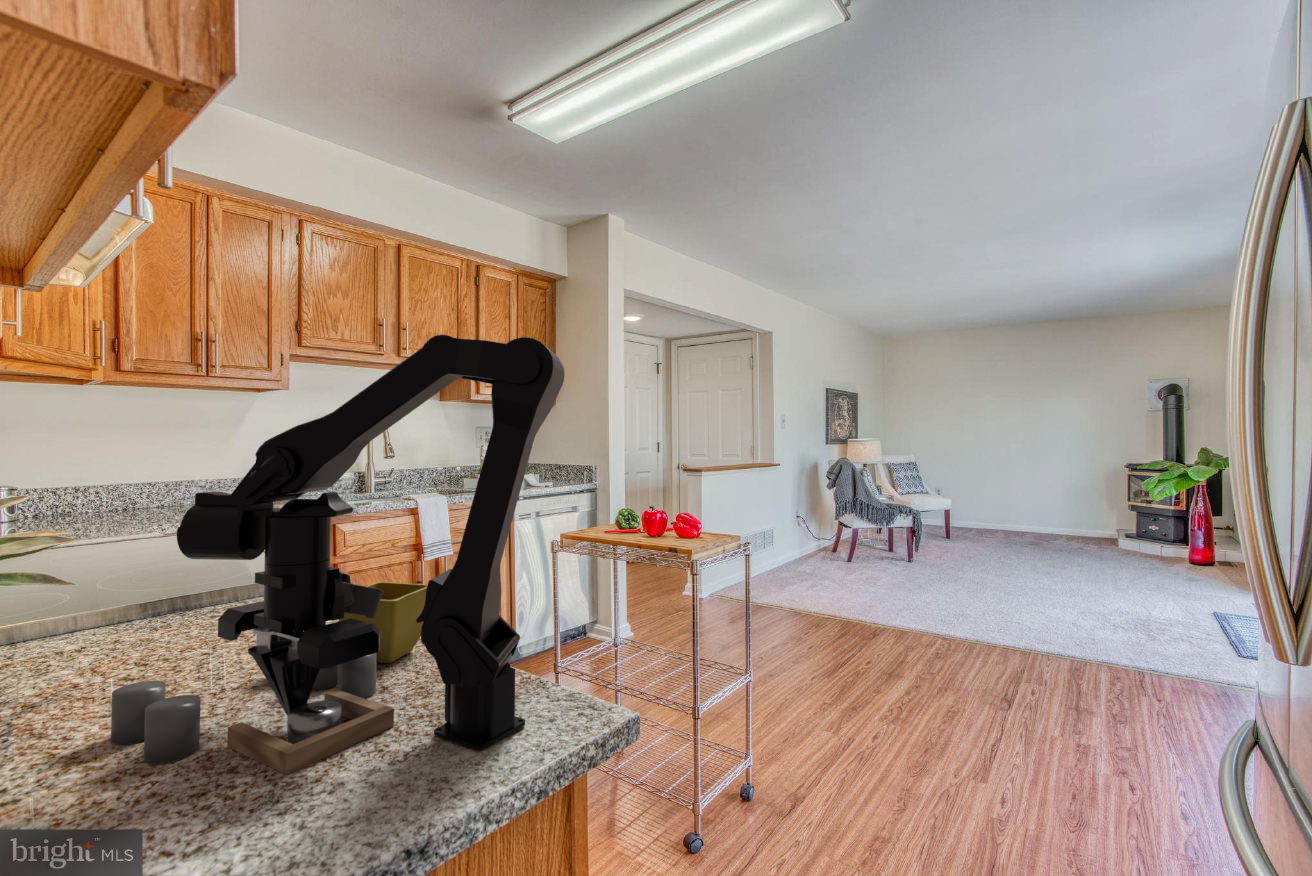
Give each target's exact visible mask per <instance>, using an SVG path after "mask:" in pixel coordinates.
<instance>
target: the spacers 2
mask: <svg viewBox="0 0 1312 876" xmlns="http://www.w3.org/2000/svg"><path fill="white" fill-rule="evenodd" d="M376 657H377V653H374V654H370V655H367V656H364V657H361V658H358V659H355V660H352V661H349V662H346V663H342V664H339V665H336V666H333V667H330V668H323V669H320V671H319V673H318V675H317V677H316V680H315V683H314V685H313V688H312V690H313V691H319V690H327V689H331V688H334V687H337V688H336V689H337V690H340V691H343V692H346V693H349V694H352V695H355V696H358V697H361V698H364V699H367V698H369V697H372V696H373V695H374V694H375V693H376V692H377V662H376Z"/></svg>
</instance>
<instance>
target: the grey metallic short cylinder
mask: <svg viewBox="0 0 1312 876" xmlns="http://www.w3.org/2000/svg"><path fill="white" fill-rule="evenodd" d="M286 716H287V717H286V718H287V720H286V723H287V724H286V741H287V742H289V743H291V744H295V743H298V742H300V741H302V740H305V739H307V738H310V737H312V736H315V735H317V734H319V733H322V732H324V731H327V730H329V729H331V728H334V727H336V726H339V725H341V724H342V716H341V704H340V703H338V702H335V701H324V700H318V701H312V702H307V704H304V705H301V706H298V707H296V708H294V709H292V710H291V711H290V712H289V713H288V715H286Z"/></svg>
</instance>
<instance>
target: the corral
mask: <svg viewBox="0 0 1312 876" xmlns="http://www.w3.org/2000/svg"><path fill="white" fill-rule="evenodd" d="M323 698H324V699H323V701H335V702H338V703H340V704H341V717H344V718H347V719H349V720H348V721H347V722H343V723H341V725H339V726H336V727H334V728H331V729H329V730H327V731H324V732H322V733H319V734H317V735H315V736H312V737H310V738H307V739H305V740H302V741H300V742H298V743H295V744H291V743H289V742H287V740H284V739H282V738H280V737H277V736H274V735H272V734H270V733H268V732H266V731H264V730H261V729H258V728H257V727H254V726H251V725H250V724H247V723H245V722H242V721H241V722H238V723H235V724H233V725H230V726H227V748H230V749H232V750H234V751H236V752H238V753H240V754H242V755H243V756H244V755H245V756H247V757H249V758H250V759H253V760H255V761H257V762H259V763H262V764H263V765H265V766H268V767H270V768H271V769H274V770H276V771H278V772H280V773H282V774H283V775H284V774H285V776H286V775H289V774H292V773H293V772H296V771H298V770H300V769H302V768H305V767H307V766H309V765H312V764H314V763H315V762H317V761H320V760H322V759H324V758H326V757H328V756H329V757H330V756H331V755H333V754H336V753H338V752H340V751H342V750H345V749H347V748H349V747H351V746H354V745H355V744H357V743H361V742H362V741H365V740H367V739H369V738H371V737H373V736H376V735H378V734H380V733H382V732H384V731H386V730H389V729H391V728H393V727H394V726H395V709H394V707H391V706H388V705H384V704H383V703H378V702H376V701H372V700H371V699H367V698H361V697H358V696H355V695H352V694H349V693H346V692H343V691H340V690H337V688H333V689H331V690H328V691H326V692H324V695H323Z"/></svg>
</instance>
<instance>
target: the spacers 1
mask: <svg viewBox="0 0 1312 876" xmlns="http://www.w3.org/2000/svg"><path fill="white" fill-rule="evenodd" d="M166 687H167V686H166V682H165V681H162V680H144V681H138V682H134V683H130V684H127V685H123V686H121V687H118V688H116V689H114V690H113V691H112V692H111V715H110V717H111V719H110V721H111V722H110V726H111V727H110V743H111V744H113V745H116V746H117V745H118V746H121V745H122V746H123V745H124V746H125V745H133V744H137V743H141V742H143V743H144V745H143V761H144V763H145V764H148V765H164V764H169V763H174V762H178V761H180V760H181V761H182V759H183V760H184V759H185V758H188V757H191V756H192V755H194V754H195V753H197V752H198V751H199V749H200V742H201V741H200V740H201V705H202V704H201V697H200V696H199V695H196V694H181V695H175V696H171V697H170V696H169V697H167V698H166V691H167V690H166Z"/></svg>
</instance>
